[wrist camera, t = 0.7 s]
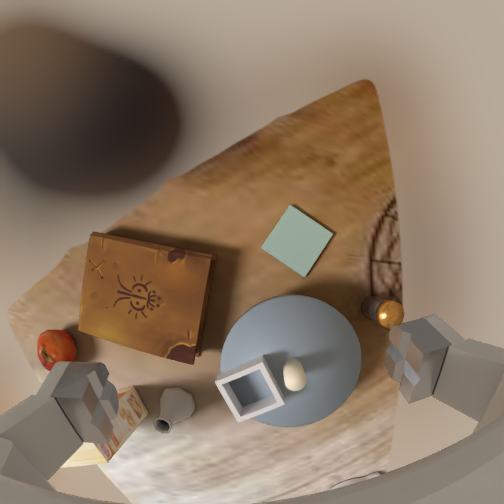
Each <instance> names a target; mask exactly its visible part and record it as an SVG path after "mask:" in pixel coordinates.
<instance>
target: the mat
mask: <svg viewBox="0 0 504 504" xmlns="http://www.w3.org/2000/svg"><path fill="white" fill-rule="evenodd" d="M332 235H333V234H332V233H331V232H330V231H328V230H327V229H325V228H324V227H322V226H321V225H319V224H318V223H316V222H315V221H314V220H312V219H311V218H309V217H308V216H306V215H305V214H303V213H302V212H300V211H299V210H297V209H296V208H294V207H293V206H291V205H290V206H289V207H288V208H287V210H286V211H285V213H284V214H283V216H282V217H281V219H280V220H279V222H278V223H277V225H276V226H275V228H274V229H273V231H272V232H271V234H270V235H269V237H268V238H267V240H266V241H265V243H264V244H263V246H262V247H261V248H262V249H263V250H265V251H266V252H267V253H269V254H270V255H272V256H273V257H275V258H276V259H278V260H279V261H281V262H282V263H284V264H285V265H287V266H288V267H290V268H291V269H293V270H294V271H296V272H297V273H299V274H300V275H301V276H303V277H305V276H306V275H307V273H308V272H309V270H310V269H311V267H312V266H313V264H314V263H315V261H316V259H317V258H318V256H319V255H320V253H321V252H322V250H323V249H324V247H325V246H326V244H327V243H328V241H329V239H330V238H331V236H332Z"/></svg>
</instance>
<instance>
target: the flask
mask: <svg viewBox="0 0 504 504" xmlns="http://www.w3.org/2000/svg"><path fill="white" fill-rule="evenodd" d="M195 408H196V407H195V403H194V399H193V395H192V394H191V393H189V392H187V391H185V390H183V389H182V388H180V387H172V388H165V389H164V391H163V393H162V395H161V397H160V416H159V417H157V418H156V419H155V421H154V426H155V429H156V430H157V431H159V432H161V433H169V432H170V430H171V429H172V425H174V424H175V423H177V422H179V421H182V420H185V419H188V418H190V416H191V415H192V413H193V411H194V409H195Z"/></svg>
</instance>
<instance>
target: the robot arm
mask: <svg viewBox="0 0 504 504" xmlns="http://www.w3.org/2000/svg"><path fill="white" fill-rule="evenodd" d="M389 339H390V341H391V342H392V344H391V345H390V346H389V348H388V349H387V350H386V357H385V362H386V369H387V371H388V374H389V375H390V377H391V378H392V380H394V381H397V382H399V383H400V386H399V390H400V392H401V393H402V394H403V396H404V397H405V399H406V400H407V402H408V403H412V402H415V401H418V400H421V399H424V398H427V397H429V396H432V395H433V397H434V398H436V399H438V400H439V401H441V402H443V403H445V404H447V405H449V406H451V407H453V408H454V409H456V410H458V411H460V412H462V413H464V414H465V415H467V416H469V417H471V418H473V419H475V420H477V421H479V423H478V425H477V426H476V428H475V430H474V431H473V434H471V435H470V436H468V437H466V438H464V439H462V440H460V441H459V442H457V443H455V444H453V445H451V446H449V447H447V448H445V449H443V450H441V451H438V452H436V453H434V454H432V455H430V456H428V457H426V458H423V459H421V460H418V461H416V462H414V463H411V464H409V465H406V466H404V467H401V468H399V469H396V470H394V471H391V472H388V473H385V474H380V473H379V472H375V473H372V474H370V475H368V476H365V477H361V478H355V479H350V480H347V481H344V482H342V483H340V484H338V485H336V486H334V487H333V488H331V489H330V490H328V491H324V492H319V493H315V494H310V495H305V496H300V497H295V498H289V499H283V500H277V501H270V502H263V503H254V504H504V349H502V348H499V347H496V346H493V345H489V344H486V343H482V342H479V341H476V340H472V339H467V340H465V339H464V338H463V337H462V336H461V335H460V334H459V333H457V332H456V331H455V330H454V329H453V328H452V327H451V326H450V325H448V324H447V323H446V322H445V321H444V320H443V319H442V318H440V317H439V316H438V315H435V314H432V315H429V316H426V317H422V318H420V319H417V320H413V321H410V322H406V323H402V324H398V325H394V326H392V327H391V329H390V332H389ZM108 375H109V373H108V370H107V368H106V366H105V365H104V364H103V363H101V362H64V361H59V362H57V363H55V365H54V366H53V368H52V369H51V371H50V373H49V374H48V376H47V378H46V379H45V381H44V383H43V384H42V386H41V388H40V389H39V391H38V393H37V394H36V395H31V396H30V397H28V398H27V399H25V400H24V401H22V402H20V403H19V404H17V405H16V406H14V407H13V408H11V409H9V410H8V411H6V412H5V413H4V414H2V415H0V504H123V503H114V502H108V501H101V500H95V499H90V498H84V497H79V496H74V495H70V494H65V493H61V492H58V491H57V490H56V489H55V488H54V487H53V486H52V485H51V484H50V483H49V482H48V480H49V479H50V478H51V477H52V476H53V475H54V473H55V472H56V471H57V470H58V469H59V468H60V467H61V466H62V465H63V464H64V463H65V462H66V461H67V460H68V459H69V458H70V457H71V456H72V455H73V454H74V453H75V452H76V451H77V450H78V449H79V448H80V447H81V446H82V445H83V442H86V443H100V444H109V441H110V438H111V434H112V431H113V425H112V423H111V420H112V419H114V418H115V417H116V416H117V413H118V410H119V398H118V394H117V391H116V388H115V386H114V385H113V384H112V383H111V382H109V381H108V380H107V378H108Z"/></svg>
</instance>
